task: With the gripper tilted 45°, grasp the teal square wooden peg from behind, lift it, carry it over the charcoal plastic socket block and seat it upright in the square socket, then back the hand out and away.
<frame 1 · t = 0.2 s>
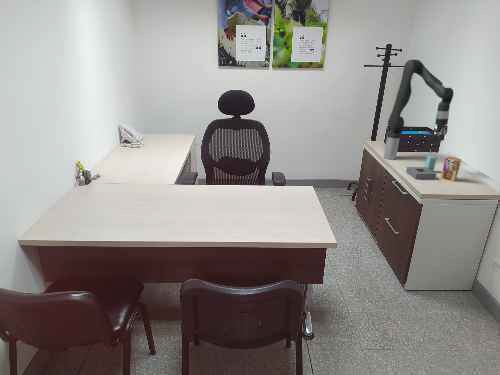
hand: (438, 141, 253), 23 cm above the cabinet, tool pointing down, fingers open, 8 cm apart
teal peg: (428, 171, 263), on the cabinet
socket block: (420, 175, 254), on the cabinet
candy box: (448, 179, 249), on the cabinet
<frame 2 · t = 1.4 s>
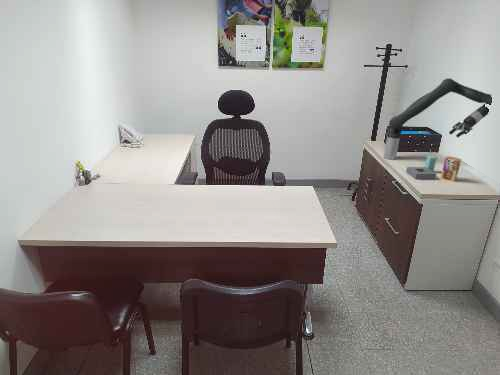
hand: (453, 135, 253), 27 cm above the cabinet, tool tilted 45°, fingers open, 8 cm apart
nothing on the cabinet moved.
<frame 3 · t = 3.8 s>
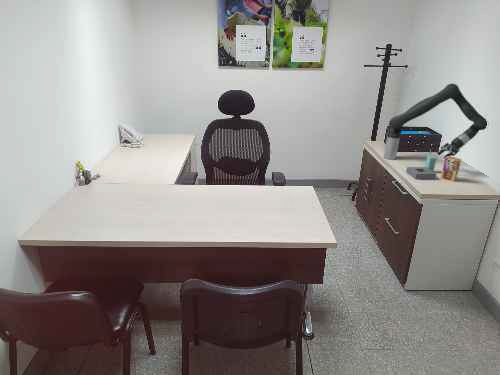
hand: (441, 156, 259), 12 cm above the cabinet, tool tilted 45°, fingers open, 8 cm apart
nothing on the cabinet moved.
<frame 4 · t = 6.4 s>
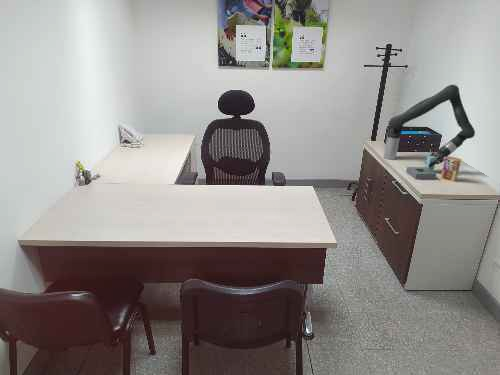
hand: (427, 165, 261), 5 cm above the cabinet, tool tilted 45°, fingers closed on teal peg, 4 cm apart
teal peg: (428, 171, 263), on the cabinet, touching gripper
everything else where it was.
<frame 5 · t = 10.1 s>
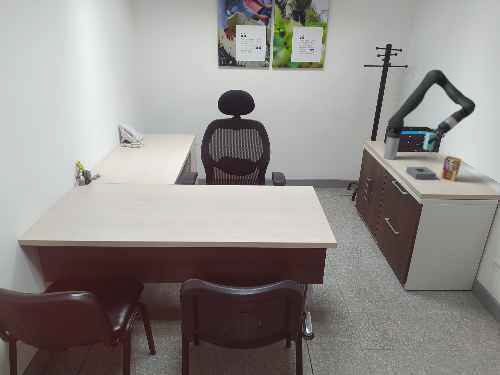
hand: (426, 142, 245), 24 cm above the cabinet, tool tilted 45°, fingers closed on teal peg, 4 cm apart
teal peg: (427, 149, 247), point 19 cm above the cabinet, touching gripper
everything else where it was.
when the fingers open (7 cm above the cabinet, at t = 13.9 s): teal peg drops 1 cm, resting on socket block.
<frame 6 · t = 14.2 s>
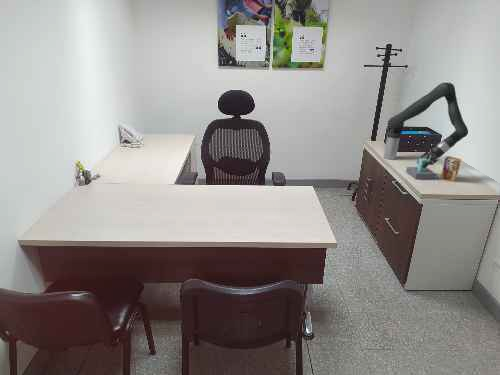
hand: (420, 165, 251), 8 cm above the cabinet, tool tilted 45°, fingers open, 7 cm apart
teal peg: (420, 174, 253), point 1 cm above the cabinet, touching socket block
everything else where it was.
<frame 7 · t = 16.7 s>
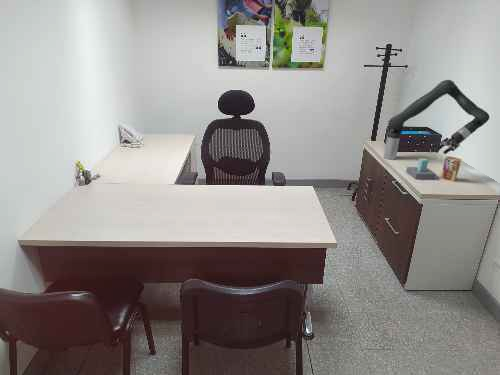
hand: (440, 151, 248), 18 cm above the cabinet, tool tilted 45°, fingers open, 8 cm apart
nothing on the cabinet moved.
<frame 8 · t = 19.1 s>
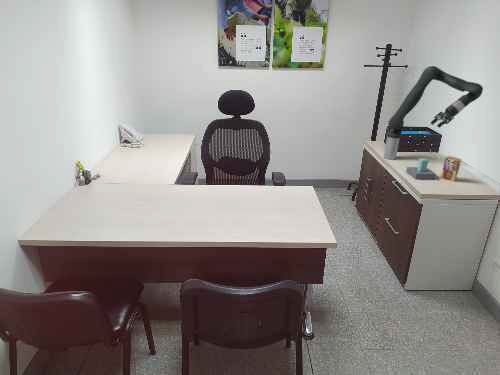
hand: (434, 125, 246), 35 cm above the cabinet, tool tilted 45°, fingers open, 8 cm apart
nothing on the cabinet moved.
at the end: teal peg 0.1 cm off-centre on the socket block, point 1.0 cm above the socket block's base; teal peg tilted 0°; the gripper is holding nothing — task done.
